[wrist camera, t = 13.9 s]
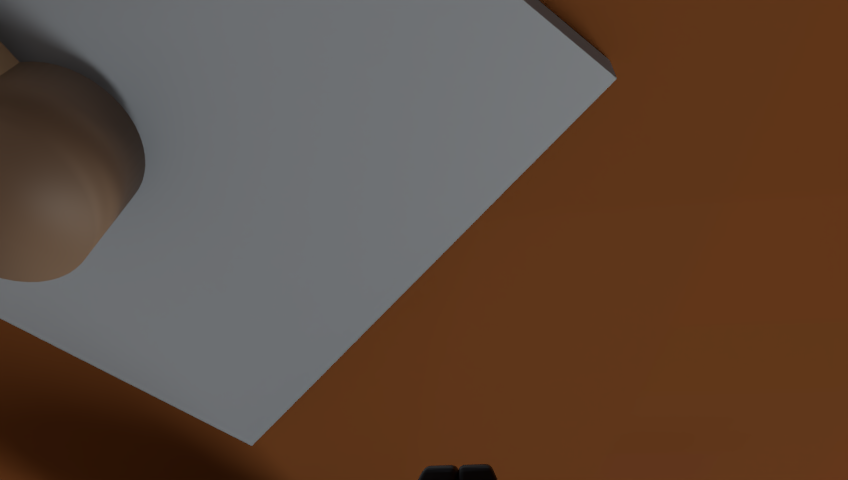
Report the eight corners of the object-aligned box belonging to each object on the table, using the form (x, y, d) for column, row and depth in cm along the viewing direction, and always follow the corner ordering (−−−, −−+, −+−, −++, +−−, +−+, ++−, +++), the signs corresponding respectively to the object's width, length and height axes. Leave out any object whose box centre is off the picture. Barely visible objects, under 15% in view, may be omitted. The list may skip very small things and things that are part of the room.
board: (260, 419, 27) (250, 450, 26) (-335, 110, 21) (-382, 131, 20) (610, 59, 18) (619, 80, 17) (-245, -663, 12) (-323, -706, 11)
